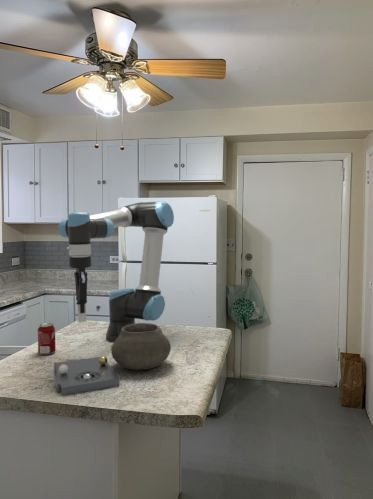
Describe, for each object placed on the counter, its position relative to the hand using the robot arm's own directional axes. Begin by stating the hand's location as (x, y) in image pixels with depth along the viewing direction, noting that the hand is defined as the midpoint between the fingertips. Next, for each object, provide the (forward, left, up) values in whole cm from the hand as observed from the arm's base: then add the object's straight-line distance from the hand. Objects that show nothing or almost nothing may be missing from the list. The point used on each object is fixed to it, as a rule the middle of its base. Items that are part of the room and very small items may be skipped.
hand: (82, 321), depth 139 cm
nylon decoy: (+7, +7, -14) cm, 17 cm away
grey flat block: (0, +7, -18) cm, 19 cm away
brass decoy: (-7, +4, -14) cm, 16 cm away
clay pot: (-21, +5, -18) cm, 28 cm away
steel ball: (0, +12, -17) cm, 21 cm away
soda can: (+10, -26, -18) cm, 34 cm away
